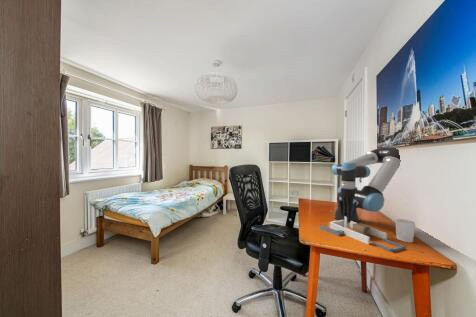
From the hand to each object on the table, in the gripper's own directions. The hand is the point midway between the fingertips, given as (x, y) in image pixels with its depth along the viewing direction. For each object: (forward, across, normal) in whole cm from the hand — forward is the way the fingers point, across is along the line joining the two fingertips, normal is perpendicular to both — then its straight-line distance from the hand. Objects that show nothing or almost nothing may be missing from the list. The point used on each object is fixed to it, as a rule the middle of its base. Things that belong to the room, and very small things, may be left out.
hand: (346, 227), depth 114 cm
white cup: (+2, +21, +17) cm, 27 cm away
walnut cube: (+2, +9, 0) cm, 9 cm away
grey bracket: (+2, +22, 0) cm, 22 cm away
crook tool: (+2, -2, -11) cm, 11 cm away
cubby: (+2, +6, 0) cm, 6 cm away
